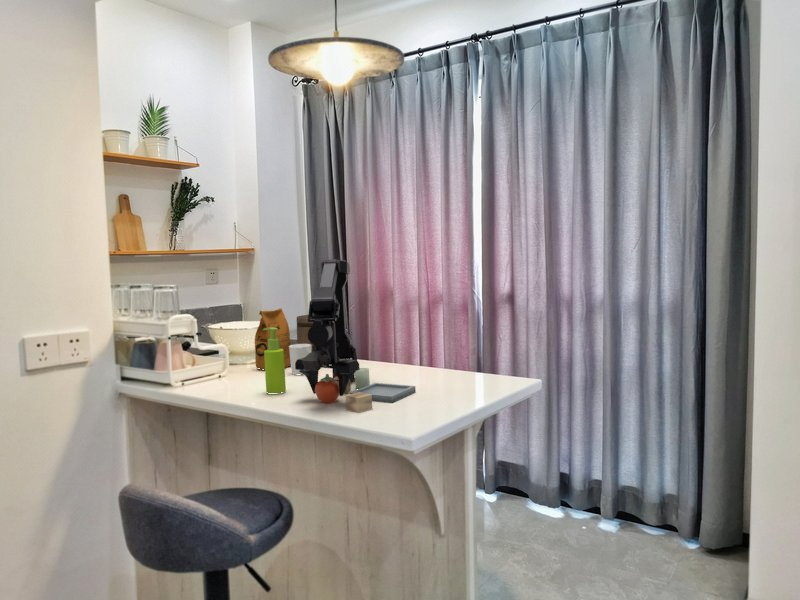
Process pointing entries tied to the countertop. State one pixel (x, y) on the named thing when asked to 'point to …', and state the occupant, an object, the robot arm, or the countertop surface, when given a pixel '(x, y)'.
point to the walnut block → (346, 387)
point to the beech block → (358, 402)
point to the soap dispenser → (274, 364)
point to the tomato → (327, 389)
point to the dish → (386, 391)
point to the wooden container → (303, 330)
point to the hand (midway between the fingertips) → (328, 394)
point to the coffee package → (262, 336)
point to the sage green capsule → (362, 378)
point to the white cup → (298, 354)
